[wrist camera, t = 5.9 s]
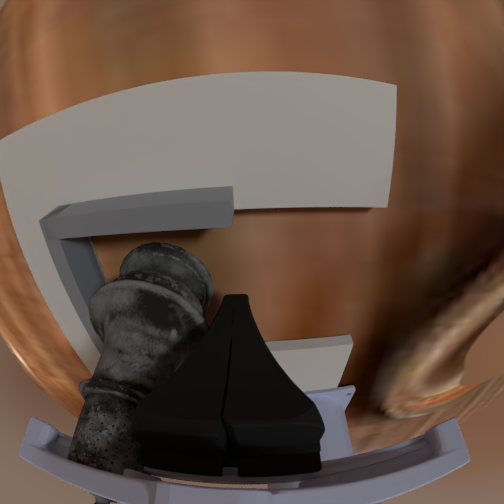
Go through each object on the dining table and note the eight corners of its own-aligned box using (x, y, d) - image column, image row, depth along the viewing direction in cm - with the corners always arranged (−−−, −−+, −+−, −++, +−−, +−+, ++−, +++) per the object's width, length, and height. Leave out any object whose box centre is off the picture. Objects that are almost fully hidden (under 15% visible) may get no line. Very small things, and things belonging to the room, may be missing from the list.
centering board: (335, 379, 19) (341, 405, 17) (99, 374, 19) (91, 397, 17) (387, 85, 9) (418, 84, 7) (2, 140, 9) (-27, 151, 7)
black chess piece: (133, 323, 16) (78, 503, 5) (102, 240, 12) (-23, 452, 2) (225, 324, 15) (212, 538, 5) (211, 233, 12) (154, 547, 2)
